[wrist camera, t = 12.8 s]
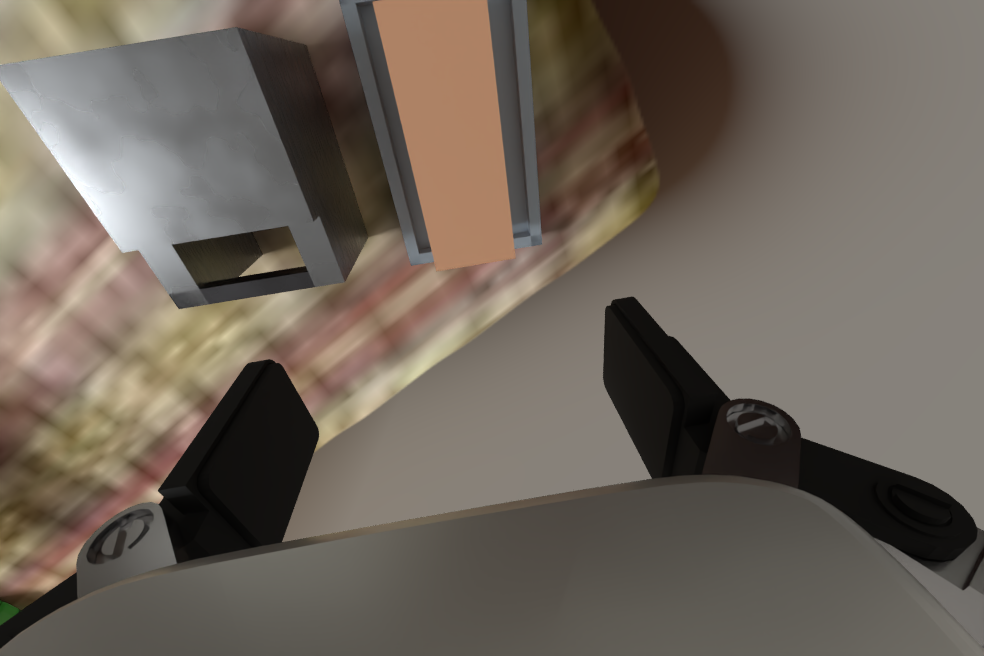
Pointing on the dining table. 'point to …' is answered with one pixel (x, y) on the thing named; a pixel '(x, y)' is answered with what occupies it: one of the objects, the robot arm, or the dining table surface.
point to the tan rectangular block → (451, 124)
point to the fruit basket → (7, 611)
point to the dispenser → (200, 157)
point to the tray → (513, 107)
